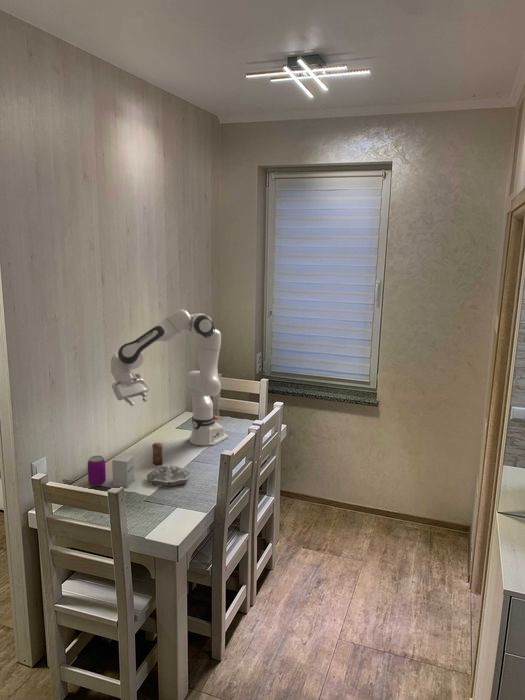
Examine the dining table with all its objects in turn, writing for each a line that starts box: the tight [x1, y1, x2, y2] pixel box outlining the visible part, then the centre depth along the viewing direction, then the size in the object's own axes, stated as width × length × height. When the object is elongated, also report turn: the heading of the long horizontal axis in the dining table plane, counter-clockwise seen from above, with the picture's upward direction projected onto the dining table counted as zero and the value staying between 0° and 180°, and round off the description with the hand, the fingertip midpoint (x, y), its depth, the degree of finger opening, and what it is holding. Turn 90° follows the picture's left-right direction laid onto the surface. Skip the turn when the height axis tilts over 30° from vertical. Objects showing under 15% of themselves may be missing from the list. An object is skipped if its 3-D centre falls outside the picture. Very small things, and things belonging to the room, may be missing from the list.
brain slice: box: [146, 465, 190, 487], centre depth 239 cm, size 20×17×3 cm
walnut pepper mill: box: [151, 442, 163, 467], centre depth 254 cm, size 5×5×10 cm
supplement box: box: [111, 453, 135, 489], centre depth 232 cm, size 7×7×13 cm
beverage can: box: [87, 455, 107, 487], centre depth 232 cm, size 8×8×12 cm
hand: (139, 403), depth 255 cm, fingers open, 8 cm apart
